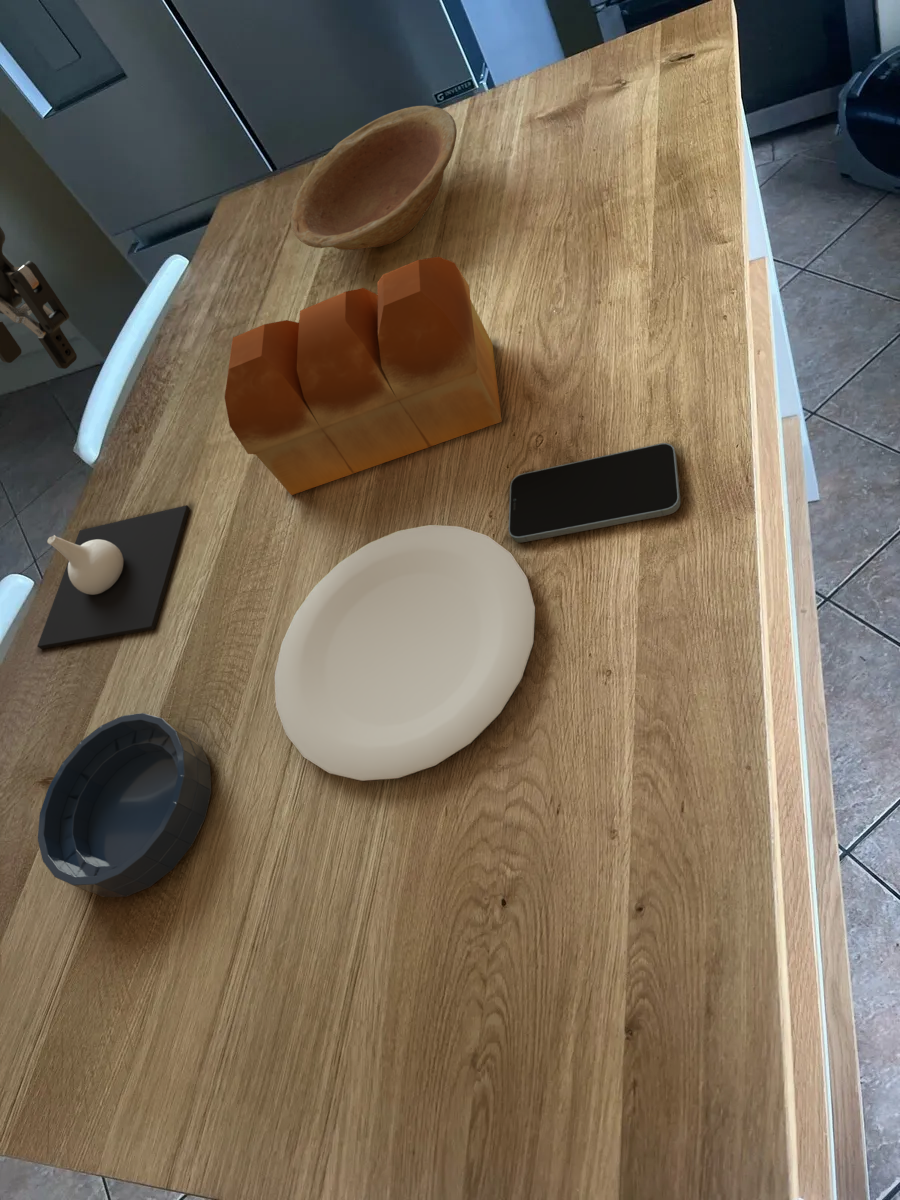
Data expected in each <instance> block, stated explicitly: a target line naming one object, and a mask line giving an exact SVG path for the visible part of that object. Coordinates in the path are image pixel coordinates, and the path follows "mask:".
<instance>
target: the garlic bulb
mask: <svg viewBox="0 0 900 1200" xmlns="http://www.w3.org/2000/svg"><path fill="white" fill-rule="evenodd" d="M46 542H47V545H50V546H52V547H53V548H54V549H55V550H56V551H57V552H59V553H60V554H61V555H62V556H63V557H64V558H65V559H66V560H67V561H69V563H68V562H67V564H68V575H69V578H70V581H71V582H72V584H73V585H74V586H75V587H76V588H77V589H78V590H79V591H81V592H83V593H86V594H91V595H95V594H100V593H102V592H104V591H106V590H108V589H109V588H110V587H111V586H112V585H113V584H114V583H115V582H116V581H117V580H118V578H119V576H120V574H121V572H122V569H123V556H122V553H121V551H120V550H119V549H118V547H116V546H115V545H114V544H112V543H111V542H108V541H106V540H100V539H95V540H90V541H87V542H85V543H83V544H82V545H77V544H75V542H71V541H69V540H66V539H64V538H61V537H58V536H56V535H55V534H53V535H52V536H49V537H48V539H47V541H46Z"/></svg>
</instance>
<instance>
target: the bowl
mask: <svg viewBox="0 0 900 1200" xmlns="http://www.w3.org/2000/svg"><path fill="white" fill-rule="evenodd" d="M457 132H458V131H457V124H456V121H455V119H454V118H453V116H452V115H451V113H449V112H448V111H447V110H445V109H443V108H441V107H439V106H438V107H437V106H433V105H414V106H409V107H403V108H401V109H398V110H395V111H392V112H389V113H387V114H384V115H382V116H380V117H378V118H376V119H374V120H372V121H370V122H368V123H367V124H365V125H363V126H361V127H359V128H358V129H357V130H355V131H354V132H352V133H351V134H349V135H347V136H346V137H345V138H342V140H341V141H339V142H337V144H335V146H334V147H333V148H332V149H331V150H329V152H328V153H327V154H326V155H325V156H323V158H321V160H320V161H318V163H317V164H316V165H315V166H314V167H313V169H312V170H311V171H310V172H309V174H308V175H307V176H306V178H305V179H304V181H303V183H302V184H301V186H300V188H299V190H298V191H297V194H296V196H295V198H294V201H293V204H292V210H291V217H290V225H291V229H292V232H293V234H294V236H295V237H296V238H297V239H298V241H300V242H301V243H303V244H305V245H306V246H308V247H312V248H315V249H324V248H335V249H337V250H342V251H346V250H347V251H349V250H350V251H351V250H359V249H369V248H379V247H383V246H387V245H390V244H393V243H396V242H398V241H399V240H401V239H403V238H404V237H406V236H407V235H408V234H409V233H410V232H412V231H413V230H414V228H415V227H416V226H417V225H418V224H419V223H420V222H421V221H422V220H423V217H424V215H425V214H426V212H427V211H428V210H429V208H430V206H431V205H432V204H433V202H434V201H435V199H436V197H437V196H438V194H439V192H440V191H441V188H442V185H443V181H444V172H445V170H446V168H447V167H448V165H449V164H450V160H451V159H452V156H453V152H454V149H455V146H456V141H457V135H458V133H457Z"/></svg>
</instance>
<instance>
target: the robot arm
mask: <svg viewBox="0 0 900 1200" xmlns="http://www.w3.org/2000/svg"><path fill="white" fill-rule="evenodd" d="M5 241H6V233H5V232H4V230H3V228H2V227H1V226H0V314H2V315H5V316H6V317H7V318H8V319H10V320H11V321H12V322H13V323H15V324H22V325H24V326H25V327H26V328H28V329H29V331H31V332H32V333H34V334H35V335H36V336H37V339H38V341H39V342H40V344H41V346H42V347H43V348H44V350H45V351H46V353H47V354H48V356H49V357H50V359H51V360H52V361H53V363H54V365H55V366H56V368H58V369H65V370H66V369H68V368H69V367H70V366H72V364H73V363H75V361H77V360H78V359H77V358H78V355H77V352H76V351H75V349H74V348H73V346H72V344H71V343H70V342H69V339H68V338H67V337H66V335H65V333H64V332H63V330H62V329H61V326H62V325H63V323H65V322H66V321H68V320H69V319H70V314H69V312H68V311H67V309H66V308H65V306H64V305H63V303H62V302H61V300H60V298H59V297H58V295H57V294H56V293H55V291H54V289H53V288H52V287H51V285H50V284H49V282H48V280H47V279H46V277H45V276H44V275H43V273H42V271H41V270H40V269H39V267H38V265H37V264H35V262H33V261H31V260H27V261H26V262H25V263H23V264H22V265H21V266H15V265H13V263H11V261H10V260H8V258H7V257H6V256H5V254H4V253H3V247H4V244H5ZM23 301H24V303H23ZM22 303H23V304H22ZM47 303H48V305H49V306H50V308H51V309H50V308H49V307H48V306H47V305H46V304H47ZM21 304H22V305H21ZM20 305H21V306H20ZM31 314H33V315H34V317H35V318H36V319H35V318H33V317H32V316H31ZM21 354H22V348H21V346H20V345H19V344H18V342H17V341H16V340H15V338H14V336H13V335H12V333H11V332H10V331H9V330H8V328H7V326H6V325H5V324H4V321H2V320H0V360H1V362H3V363H8V364H11V363H13V362H14V361H16V359H18V357H20V356H21Z"/></svg>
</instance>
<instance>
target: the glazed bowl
mask: <svg viewBox="0 0 900 1200" xmlns="http://www.w3.org/2000/svg"><path fill="white" fill-rule="evenodd" d="M211 795H212V777H211V765H210V763H209V761H208V758H207V755H206V753H205V751H204V749H203V747H202V745H200V744H199V743H198V742H197V741H196V740H195V739H194V738H193V737H192V736H191V735H190V734H188V733H186V732H185V731H184V730H181V729H180V728H179V727H177V726H175V724H172V723H171V722H169V721H168V720H166V719H164V718H163V717H160V716H156V715H153V714H149V713H146V712H141V713H134V714H124V715H121V716H119V717H117V718H114V719H112V720H110V721H108V722H106V723H104V724H101V725H100V726H99V727H97V728H96V729H95V730H94V731H92V732H91V733H90V734H88V735H87V736H86V737H84V738H83V739H82V740H81V741H80V742H79V743H78V744H77V745H76V747H74V749H73V750H72V751H71V752H70V753H69V754H68V756H67V757H66V758H64V760H63V762H62V763H61V764H60V766H59V768H58V770H57V772H56V773H55V775H54V777H53V779H52V780H51V782H50V783H49V786H48V788H47V790H46V792H45V797H44V800H43V803H42V806H41V809H40V811H39V816H38V828H37V829H38V830H37V843H38V847H39V851H40V855H41V860H42V862H43V864H44V865H45V866H46V867H47V869H48V870H49V871H50V873H51V875H53V877H54V878H55V879H58V880H60V881H62V882H64V883H67V884H69V885H70V886H73V887H76V888H79V889H80V890H84V891H87V892H89V893H92V894H94V895H97V896H100V897H103V898H122V897H123V898H124V897H129V896H131V895H135V894H136V893H139V892H141V891H143V890H146V889H148V888H151V887H152V886H153V885H155V884H156V883H157V882H159V881H160V880H162V878H164V877H165V876H166V875H167V874H169V873H170V872H171V871H173V869H174V868H175V867H176V866H177V865H178V864H179V863H180V862H181V860H182V858H183V857H184V856H185V855H186V854H187V852H188V851H189V850H190V849H191V847H192V846H193V844H194V842H195V840H196V838H197V837H198V834H199V832H200V830H201V828H202V826H203V824H204V822H205V819H206V817H207V812H208V808H209V803H210V798H211Z"/></svg>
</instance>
